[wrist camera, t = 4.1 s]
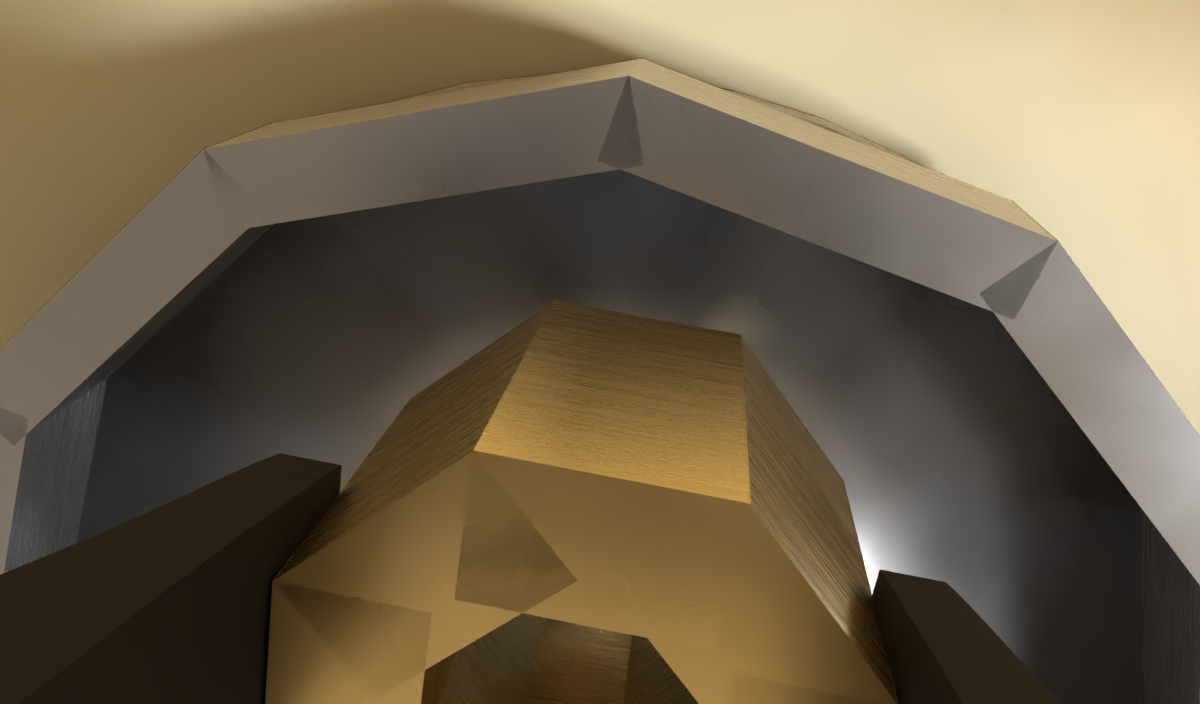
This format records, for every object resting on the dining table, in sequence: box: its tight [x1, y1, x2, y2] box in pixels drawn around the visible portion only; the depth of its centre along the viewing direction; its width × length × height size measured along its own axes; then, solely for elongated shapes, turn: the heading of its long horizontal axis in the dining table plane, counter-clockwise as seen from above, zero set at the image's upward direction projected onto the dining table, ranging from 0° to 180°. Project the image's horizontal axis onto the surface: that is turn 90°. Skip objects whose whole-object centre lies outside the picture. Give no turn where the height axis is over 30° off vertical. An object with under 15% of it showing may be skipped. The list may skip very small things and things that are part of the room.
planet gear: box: [265, 300, 899, 704], centre depth 10 cm, size 5×5×4 cm
